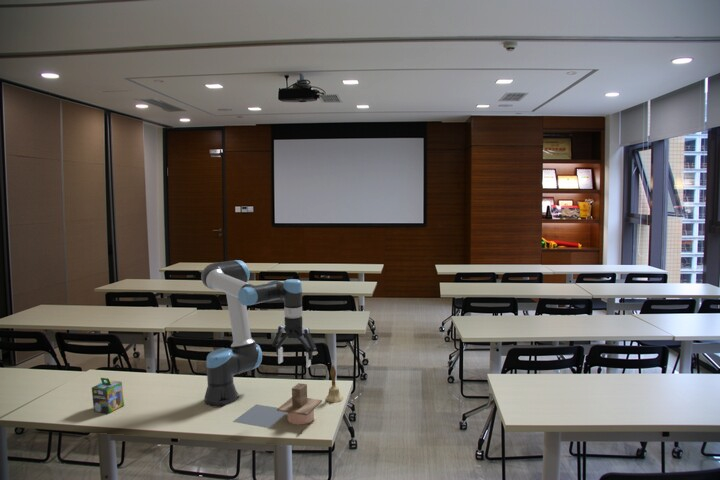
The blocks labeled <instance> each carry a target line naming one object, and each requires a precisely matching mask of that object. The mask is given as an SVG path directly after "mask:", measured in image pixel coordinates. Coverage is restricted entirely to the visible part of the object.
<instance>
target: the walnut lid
mask: <svg viewBox="0 0 720 480" xmlns="http://www.w3.org/2000/svg"><path fill="white" fill-rule="evenodd" d="M322 402H323V400H322V399H318V398H317V399H316V398H309V397H308V383H307V384H306V383H297V384H295V385H294V386H292V387H291V397H290V398H289V399H288V400H286V401H285V402H284V403H283V404H281V405H280V406H279V407H277V408H278V409H277V411H281V412H287V413H294V414H300V415H306V416H307V415H309V414H310V413H311V412H312V411H313V410H315V409H316V408H317V407H318V406H319V405H320V404H322Z"/></svg>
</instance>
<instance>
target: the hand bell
mask: <svg viewBox="0 0 720 480" xmlns="http://www.w3.org/2000/svg"><path fill="white" fill-rule="evenodd" d="M329 373H330V378H331V386H329V389H328V394H327V396H325V399H324V400H325V401H326V402H328V403H333V404H334V403H339V402H342V401H343V400H344V397H343V396H342V395H341V392H340V390H339V386H337V385H336V374H337V370H336V367H335V365H331V366H330V372H329Z"/></svg>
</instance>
